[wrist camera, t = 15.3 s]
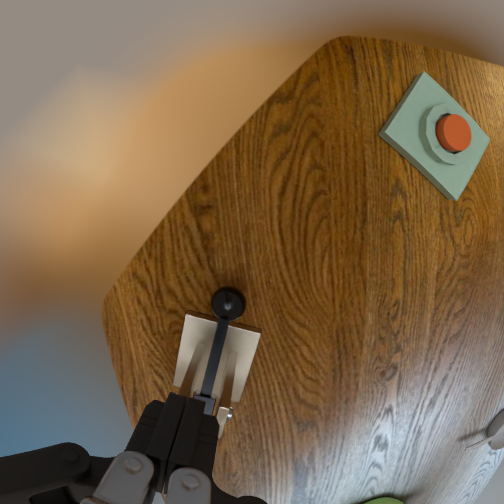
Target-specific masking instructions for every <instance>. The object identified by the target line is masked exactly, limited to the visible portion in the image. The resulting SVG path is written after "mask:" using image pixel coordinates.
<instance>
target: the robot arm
mask: <svg viewBox="0 0 504 504" xmlns="http://www.w3.org/2000/svg"><path fill="white" fill-rule="evenodd" d="M186 403H187V404H186ZM205 404H206V401H202V400H198V399H194V398H191V397H189V398H188V401H187V396H183V395H180V394H176V393H173V392H170V393H169V395H168V398H167V400H166V403H164V402H161V401H157V400H153V401H152V402H151V403H149V404H148V405H146V407H145V409H144V411H143V413H142V416H141V417H140V419H139V422H138V424H137V426H136V428H135V430H134V432H133V434H132V437H131V439H130V441H129V443H128V445H127V447H126V449H125V450H124V452H122V453H120V454H118V455H117V456H115V457H111V458H103V457H95V456H89V454H88V452H87V451H86V450H85V449H84V448H83V447H81V446H80V445H78V444H75V443H69V442H68V443H61V444H57V445H53V446H49V447H45V448H41V449H37V450H33V451H29V452H24V453H19V454H15V455H10V456H5V457H0V504H152V502H153V498H154V496H155V492H160V493H162V491H163V487H164V484H165V487H164V494H167V496H166V502H165V504H267V503H266V502H265V501H264V500H262V499H260V498H258V497H254V496H242V497H239V498H236V497H234V496H232V495H229V494H227V493H225V492H223V491H222V490H221V489H219V488H218V487H217V486H216V484H215V483H214V481H213V478H212V470H213V464H214V458H215V452H216V446H217V440H218V434H219V428H220V425H219V423H218V420H217V418H216V416H212V415H208V414H204V409H205Z"/></svg>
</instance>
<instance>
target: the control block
mask: <svg viewBox="0 0 504 504" xmlns="http://www.w3.org/2000/svg"><path fill="white" fill-rule="evenodd" d="M452 114H457V115H460V116H461V117H463V118H464V119H465V120H466V121H467V123H468V125H469V127H470V129H471V136H472V137H471V142H470V145H469V146H468V147H467V148H466V149H465V150H462V151H449V150H446V149H445V148H444V147H443V146H442V145H441V144H440V142H439V141H438V138H437V135H436V126H437V123H438V121H439V120H440V119H441V118H442V117H445V116H448V115H452ZM378 135H379V136H380V137H381V138H383V139H384V140H385V141H386V142H387V143H389V144H390V145H391V146H392V147H393V148H394V149H396V150H397V151H398V152H399V153H400V154H401V155H402V156H403V157H405V158H406V159H407V160H408V161H409V162H410V163H411V164H412V165H413V166H414V167H416V168H417V169H418V170H419V171H420V172H421V173H422V174H423V175H424V176H425V177H426V178H427V179H428V180H429V181H430V182H431V183H432V184H433V185H434V186H435V187H436V188H437V189H438V190H439V191H440V192H441V193H442V194H443V195H444V196H445V197H446V198H447V199H450V200H456V201H457V200H458V198H459V197H460V195H461V193H462V191H463V190H464V188H465V186H466V184H467V183H468V181H469V179H470V177H471V175H472V174H473V172H474V170H475V168H476V166H477V164H478V163H479V161H480V159H481V157H482V155H483V153H484V151H485V149H486V147H487V145H488V143H489V141H490V139H489V137H488V136H487V135H486V134H485V133H484V131H483V130H482V129H481V128H480V127H479V126H478V125H477V123H476V122H475V121H474V120H473V119H472V118H471V117H470V116H469V115H468V114H467V112H466V111H465V110H464V109H463V108H462V107H461V106H460V105H459V104H458V103H457V102H456V101H455V100H454V99H453V98H452V97H451V96H450V95H449V94H448V93H447V92H446V91H445V90H444V89H443V88H442V87H441V86H440V85H439V84H438V83H437V82H435V81H434V80H433V79H432V78H431V77H430V76H429V75H428V74H427V73H426V72H422V73H421V74H419V75H417V76H416V77H415V79H414V81H413V82H412V84H411V85H410V87H409V88H408V90H407V91H406V93H405V94H404V96H403V97H402V99H401V101H400V102H399V104H398V105H397V107H396V108H395V110H394V111H393V113H392V114H391V116H390V117H389V119H388V120H387V122H386V123H385V125H384V126H383V128H382V129H381V131H380V132H379V134H378Z"/></svg>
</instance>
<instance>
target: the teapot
mask: <svg viewBox="0 0 504 504" xmlns="http://www.w3.org/2000/svg"><path fill="white" fill-rule="evenodd" d="M364 504H405V503H403V502H401V501H399V500H397V499H394V498H390V497H383V498H378V499H374V500H372V501H369V502H366V503H364Z"/></svg>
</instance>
